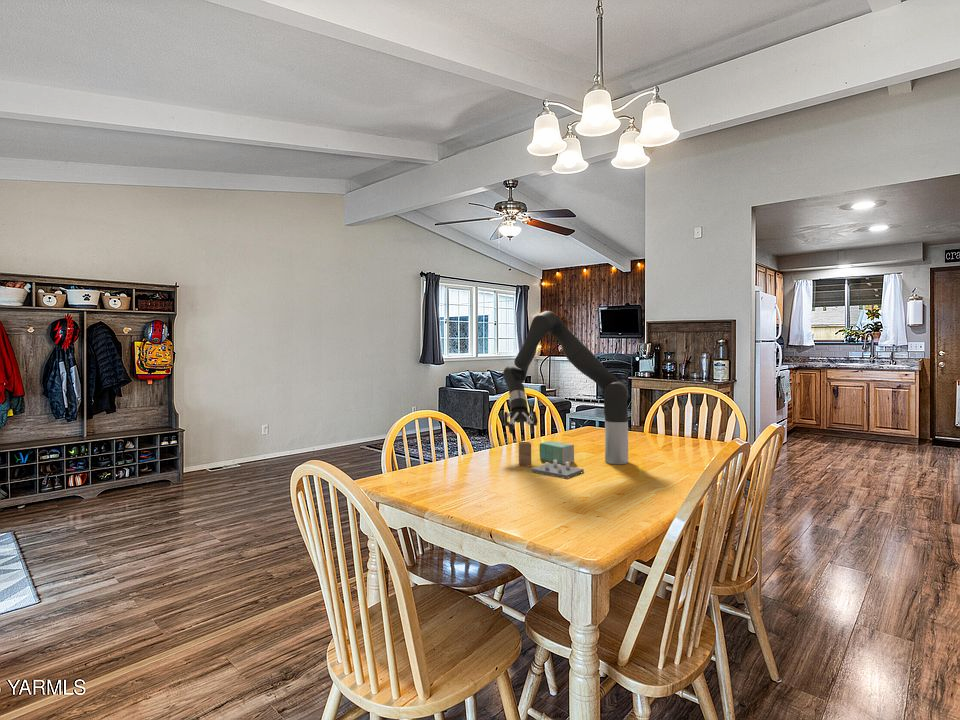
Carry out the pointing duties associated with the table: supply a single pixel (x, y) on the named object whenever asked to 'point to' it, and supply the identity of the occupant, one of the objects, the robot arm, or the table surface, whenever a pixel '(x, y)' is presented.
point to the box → (557, 452)
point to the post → (524, 453)
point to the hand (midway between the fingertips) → (522, 432)
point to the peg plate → (557, 469)
